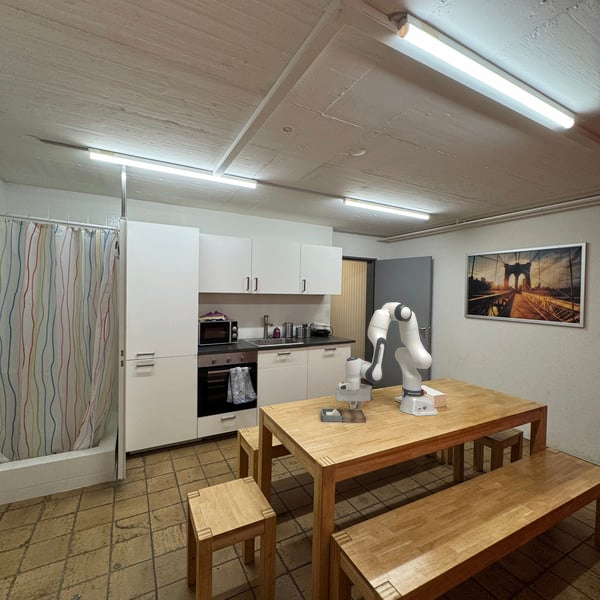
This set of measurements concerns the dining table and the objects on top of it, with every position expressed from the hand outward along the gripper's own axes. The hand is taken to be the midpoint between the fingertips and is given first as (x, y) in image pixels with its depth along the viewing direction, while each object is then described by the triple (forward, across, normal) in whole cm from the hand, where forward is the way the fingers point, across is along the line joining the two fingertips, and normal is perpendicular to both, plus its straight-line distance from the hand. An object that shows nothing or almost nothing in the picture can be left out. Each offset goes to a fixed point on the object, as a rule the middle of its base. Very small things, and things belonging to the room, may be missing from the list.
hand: (352, 408), depth 182 cm
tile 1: (+3, +14, +1) cm, 14 cm away
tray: (+6, +13, 0) cm, 14 cm away
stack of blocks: (+7, -10, -26) cm, 29 cm away
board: (+6, 0, 0) cm, 6 cm away
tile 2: (+4, +11, 0) cm, 11 cm away
